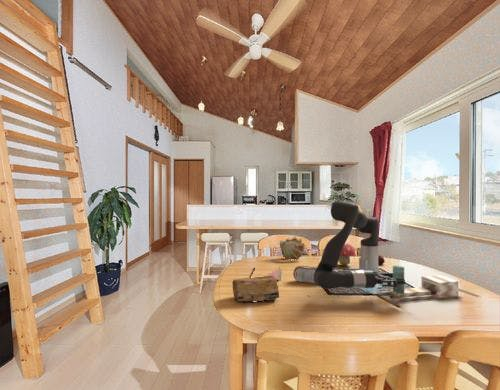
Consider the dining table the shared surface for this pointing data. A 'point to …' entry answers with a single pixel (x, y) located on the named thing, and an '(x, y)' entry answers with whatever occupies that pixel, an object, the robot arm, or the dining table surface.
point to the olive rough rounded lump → (292, 248)
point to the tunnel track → (436, 284)
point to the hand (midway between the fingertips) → (398, 278)
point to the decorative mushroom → (346, 254)
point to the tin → (304, 274)
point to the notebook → (276, 274)
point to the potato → (380, 260)
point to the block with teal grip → (399, 290)
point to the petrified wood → (256, 288)
